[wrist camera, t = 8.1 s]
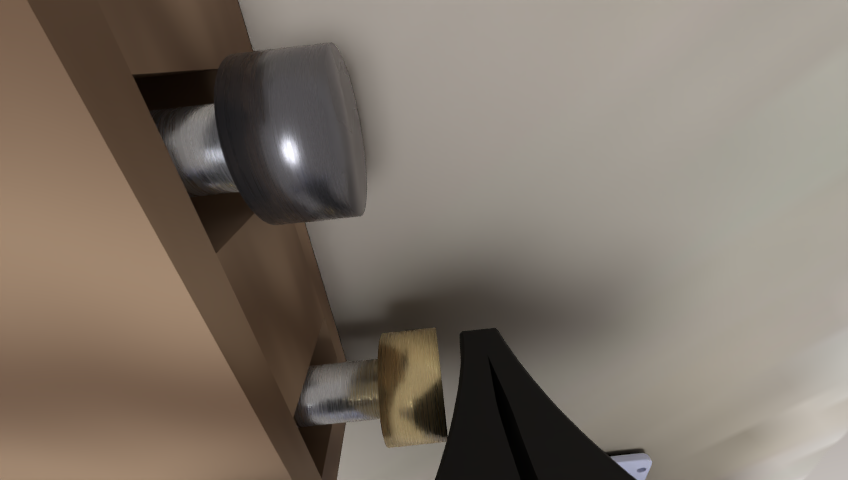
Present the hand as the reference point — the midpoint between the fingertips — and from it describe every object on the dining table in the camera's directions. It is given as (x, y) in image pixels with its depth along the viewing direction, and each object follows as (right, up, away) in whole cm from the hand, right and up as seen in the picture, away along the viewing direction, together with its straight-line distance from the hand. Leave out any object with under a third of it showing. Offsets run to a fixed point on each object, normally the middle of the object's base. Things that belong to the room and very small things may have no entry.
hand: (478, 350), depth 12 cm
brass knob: (-6, 0, +1) cm, 6 cm away
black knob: (-8, +6, -3) cm, 11 cm away
